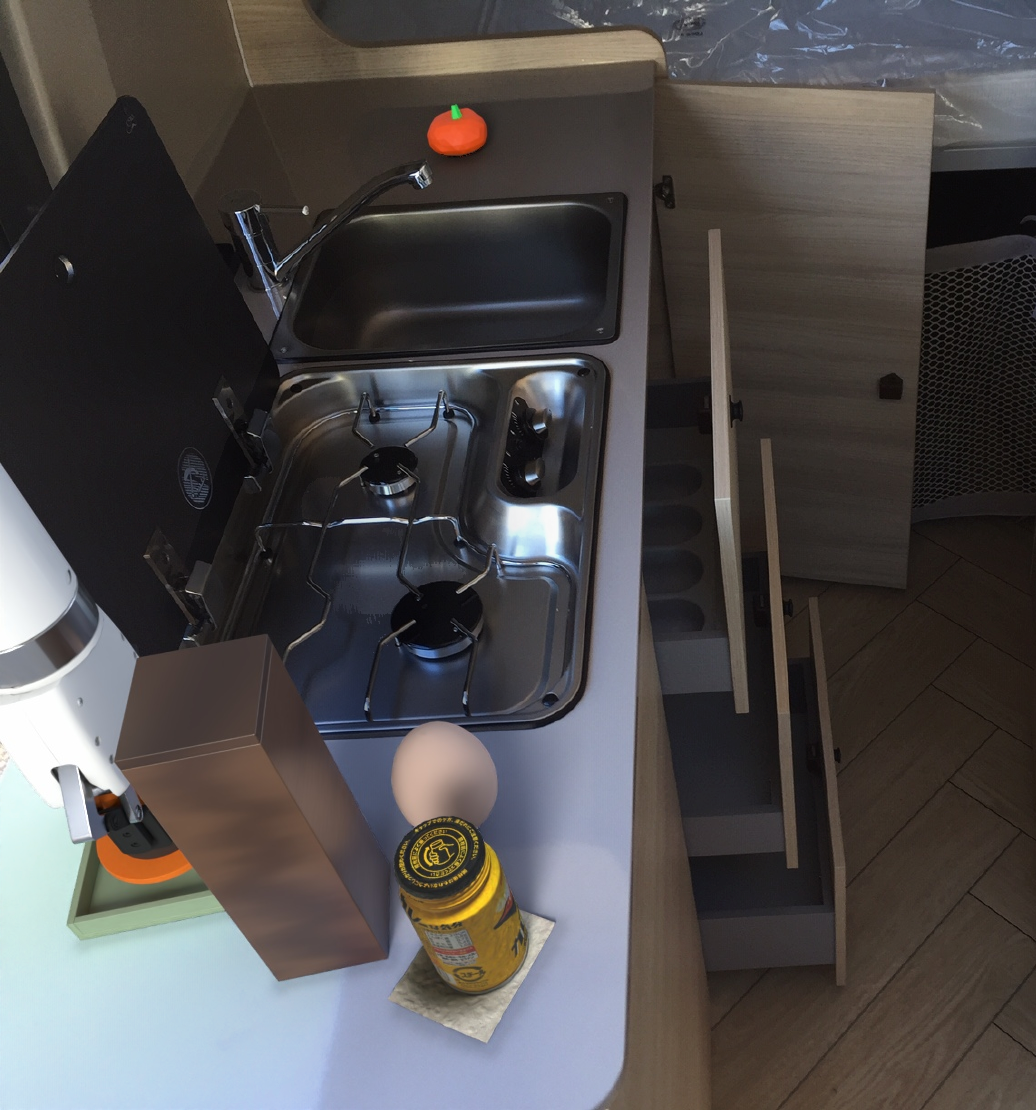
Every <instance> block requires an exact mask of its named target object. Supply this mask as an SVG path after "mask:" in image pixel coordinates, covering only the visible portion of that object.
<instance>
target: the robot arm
mask: <svg viewBox="0 0 1036 1110" xmlns="http://www.w3.org/2000/svg"><path fill="white" fill-rule="evenodd" d="M139 657H141V655H140V649H139V646H138V644H137V643H134V642H133V643H130V641H128V639H127V638H126V636H125V635H124V634H123V632H122V631H121V630H120V629H119V627H118V626H117V625H116V624H115V622H114V621H113V620H112V619H111V618H110V617H109V616H108V614H106V612H105V611H104V610H103V609H102V608H101V607H100V606H99V605H98V604H97V603H96V602H95V600H94V599H93V597H92V596H91V594H90V593H89V591H88V589H87V588H86V587H85V585H84V583H82V581H81V580H80V578H79V577H78V575H77V574H76V572H75V571H74V569H73V568H72V567H71V565H70V563H69V562H68V561H67V559H66V558H65V556H64V554H63V553H62V552H61V550H60V549H59V547H58V546H57V544H56V543H55V541H54V540H53V539H52V536H51V535H50V534H49V532H48V531H47V530H46V528H45V527H44V525H43V524H42V522H41V521H40V520H39V517H38V516H37V515H36V513H35V512H34V510H33V509H32V508H31V506H30V505H29V503H28V502H27V500H26V499H25V497H24V495H23V494H22V493H21V491H20V490H19V488H18V487H17V486H16V484H15V483H14V481H13V479H12V478H11V476H10V474H8V472H7V470H6V469H5V468H4V466H3V465H2V463H1V462H0V743H1V746H2V747H3V748H4V750H5V751H6V753H7V755H8V756H9V757H10V758H11V761H12V762H13V763H14V765H15V766H16V767H17V769H18V771H19V772H20V773H21V774H22V776H23V778H25V780H26V781H27V783H28V784H29V785H30V786H31V788H32V789H33V790H34V791H35V793H36V794H37V795H38V796H39V798H40V799H41V800H42V801H43V802H44V803H45V804H46V805H47V806H49V807H50V808H51V809H53V810H58V809H63V808H64V812H65V817H66V822H67V827H68V831H69V832H68V833H69V837H70V840H71V842H72V844H73V845H80V844H85V842H90V841H95V840H98V839H100V838H102V837H104V836H106V835H108V836H109V838H110V839H111V840H112V841H113V842H114V844H115V845H116V846H117V847H118V848H119V850H120V851H121V852H122V853H123V854H127V855H130V854H141V853H146V852H149V851H150V850H155V849H160V848H164V847H169V846H171V845H172V842H173V840H172V839H171V838H170V836H169V835H168V834H167V832H166V831H165V830H164V828H163V827H162V826H161V824H160V823H159V822H158V820H157V819H156V818H155V816H154V815H153V814H152V812H151V811H150V810H149V808H148V807H147V806H146V805H141V803H140V801H139V799H138V796H137V794H136V791H135V790H134V788H133V787H132V786H131V784H130V783H129V782H128V780H127V779H126V778H125V776H124V775H123V774H122V772H121V770H120V769H119V768H118V767H117V765H116V764H115V763H114V758H115V754H116V749H117V745H118V740H119V736H120V731H121V727H122V722H123V718H124V713H125V709H126V705H127V700H128V696H129V691H130V687H131V682H132V678H133V673H134V669H135V664H136V660H137V658H139ZM110 793H113V794H115V795H116V796H118V798H119V800H120V802H121V805H119V806H114V807H109V808H106V809H104V807H103V805H102V803H101V800H100V798H99V796H100V795H105V794H110Z"/></svg>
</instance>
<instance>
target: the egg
mask: <svg viewBox="0 0 1036 1110" xmlns="http://www.w3.org/2000/svg"><path fill="white" fill-rule="evenodd" d="M390 779H391V780H390V781H391V787H392V794H393V797H394V800H395V802H396V805H397V807H398V809H399V811H400V812H401V814H402V815H403V816H404V818H405V819H406V821H407V822H408V823H409V824H410V825H412V826H413V828H415V827H416V826H417V825H419V824H421V823H422V822H424V821H427V820H430V819H433V818H437V817H441V816H448V817H450V816H455V817H459V818H462V819H464V820H466V821H468V822H470V823H472V824H473V825H474V826H475V827H476V828H477V829H478V828H480V827H481V826H482V825H483V824H484V822H486V820H487V818H489V817H490V814H491V812H492V810H493V808H494V806H495V804H496V801H497V796H498V788H499V787H498V785H499V784H498V783H499V782H498V775H497V770H496V765H495V762H494V761H493V758H492V756H491V754H490V752H489V751H488V749H487V748H486V747H485V745H484V744H483V742H481V740H480V739H479V738H478V737H477V736H476V735H475V734H473V733H472V732H470V731H469V730H467V729H465V728H464V727H462V726H460V725H458V724H455V723H451V722H448V721H442V720H434V721H428V722H425V723H422V724H420V725H418V726H416V727H414V728H413V729H412V730H410V731H409V732H408V733H407V734H406V735H405V736H404V737H403V739H402V740H401V742H400V743H399V744H398V747H397V748H396V751H395V754H394V756H393V761H392V766H391V775H390Z"/></svg>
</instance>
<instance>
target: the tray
mask: <svg viewBox="0 0 1036 1110" xmlns="http://www.w3.org/2000/svg"><path fill="white" fill-rule="evenodd" d="M96 842H97V840H95V841H90V842H85V843H84V846H83V850H82V855H81V858H80V863H79V868H78V872H77V876H76V881H75V883H74V884H75V885H74V889H73V894H72V897H71V902H70V907H69V911H68V915H67V919H66V923H65V926H66V927H67V928H68V929H69V930H70V932H72V933H73V934H74V935H75V936H76V938H77V939H78V940H80V941H84V940H90V939H95V938H99V937H104V936H109V935H113V934H114V935H115V934H119V933H124V932H129V931H135V930H138V929H144V928H148V927H154V926H158V925H162V924H168V923H173V922H178V921H182V920H188V919H193V918H196V917H202V916H208V915H213V914H218V913H222V912H226V911H225V910H224V908H223V907H222V906H221V904H220V903H219V902H218V900H217V899H216V898H215V896H214V895H213V894H212V892H211V891H210V890H209V888H208V887H207V886H206V884H205V883H204V882H203V880H202V879H201V878H200V876H199V875H198V874H197V872H196V871H195V870H194V868H192V869H190V870H188V871H187V872H185V873H183V874H181V875H179V876H177V877H174V878H171V879H169V880H165V881H162V882H158V883H152V884H133V883H128V882H124V881H122V880H119V879H117V878H116V877H114V876H113V875H111V874H110V873H109V872H108V871H107V870H106V868H105V867H104V866H103V865H102V863H101V861H100V859H99V857H98V853H97V844H96Z"/></svg>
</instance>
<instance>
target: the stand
mask: <svg viewBox="0 0 1036 1110" xmlns="http://www.w3.org/2000/svg"><path fill="white" fill-rule="evenodd" d="M114 763H115V764H116V765H117V767H118V768H119V769H120V770H121V772H122V774H123V775H124V776H125V778H126V779H127V780H128V782H129V783H130V784H131V786H132V787H133V788H134V790H135V791H136V792H137V794H138V795H139V796H140V798H141V799H142V800H143V802H144V803H145V804H146V806H147V807H148V808H149V810H150V811H151V812H152V814H153V815H154V816H155V818H156V819H157V820H158V822H159V823H160V824H161V826H162V827H163V828H164V830H165V831H166V832H167V834H168V835H169V836H170V838H171V839H172V840H173V842H174V843H175V844H176V846H177V847H178V848H179V850H180V851H181V852H182V854H183V855H184V856H185V858H186V859H187V860H188V862H189V863H190V864H191V866H192V867H193V868H194V870H195V871H196V872H197V874H198V875H199V876H200V878H201V879H202V880H203V882H204V883H205V884H206V886H207V887H208V888H209V890H210V891H211V892H212V894H213V895H214V896H215V898H216V899H217V900H218V902H219V903H220V904H221V906H222V907H223V908H224V910H225V911H224V912H226V914H227V915H228V916H229V918H230V920H231V921H232V922H233V923H234V924H235V926H236V927H237V929H238V930H239V931H240V933H241V934H242V935H243V937H244V938H245V939H246V941H247V942H248V943H249V944H250V946H251V947H252V949H253V950H254V951H255V952H256V954H257V955H258V957H259V958H260V959H261V960H262V962H263V963H264V964H265V965H266V967H267V969H268V970H269V972H270V973H271V974H272V975H273V976H274V978H275V979H276V981H277V982H283V981H284V982H285V981H289V980H293V979H297V978H302V977H303V978H304V977H307V976H312V975H317V974H322V973H327V972H332V971H337V970H340V969H346V968H351V967H355V966H359V965H364V964H365V965H366V964H368V963H372V962H373V963H374V962H378V961H384V960H387V959H389V927H390V923H389V922H390V880H391V879H390V877H391V875H390V874H391V865H390V863H389V861H388V859H387V857H386V855H385V853H384V851H383V849H382V847H381V845H380V844H379V841H378V840H377V839H376V836H375V835H374V832H373V831H372V828H371V827H370V825H369V823H368V821H367V819H366V817H365V816H364V813H363V811H362V810H361V808H360V805H359V803H358V802H357V800H356V798H355V796H354V795H353V793H352V791H351V788H350V787H349V785H348V783H347V782H346V779H345V778H344V775H343V774H342V772H341V770H340V768H339V765H337V762H336V759H334V757H333V755H332V753H331V751H330V749H329V747H328V745H327V744H326V742H325V740H324V737H323V735H322V734H321V732H320V730H319V729H318V727H317V724H316V722H315V721H314V719H313V717H312V715H311V713H310V711H309V709H308V707H307V706H306V704H305V701H304V700H303V698H302V696H301V695H300V692H299V691H298V689H297V687H296V685H295V683H294V681H293V679H292V678H291V675H290V674H289V672H288V670H287V668H286V666H285V664H284V662H283V660H282V658H281V657H280V655H279V653H278V651H277V649H276V648H275V645H274V643H273V641H272V640H271V638H270V636H269V634H268V633H263V634H257V635H252V636H246V637H242V638H236V639H231V640H226V641H221V642H214V643H211V644H204V645H198V646H194V647H188V648H183V649H178V650H172V651H167V652H162V653H155V654H150V655H145V656H140V657H139V658H137V660H136V664H135V669H134V673H133V678H132V682H131V687H130V691H129V696H128V700H127V705H126V709H125V713H124V718H123V722H122V727H121V731H120V736H119V740H118V745H117V749H116V754H115V758H114Z"/></svg>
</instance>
